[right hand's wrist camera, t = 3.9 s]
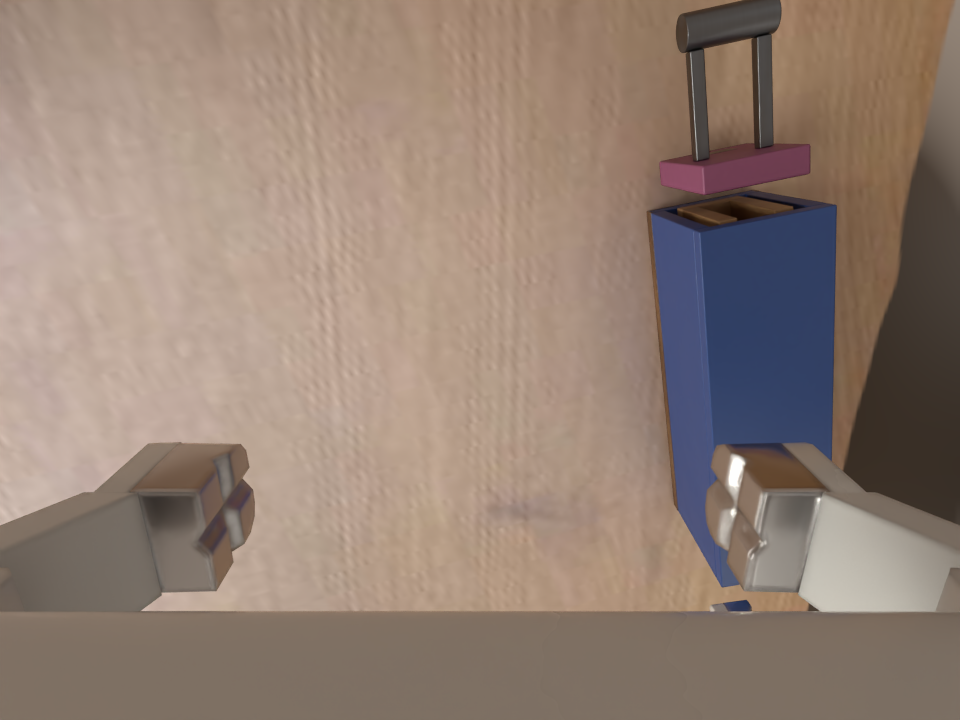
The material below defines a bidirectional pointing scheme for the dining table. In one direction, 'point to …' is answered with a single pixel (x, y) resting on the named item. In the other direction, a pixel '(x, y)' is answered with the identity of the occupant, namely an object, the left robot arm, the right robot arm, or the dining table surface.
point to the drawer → (763, 157)
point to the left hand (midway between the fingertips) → (842, 594)
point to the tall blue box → (742, 340)
